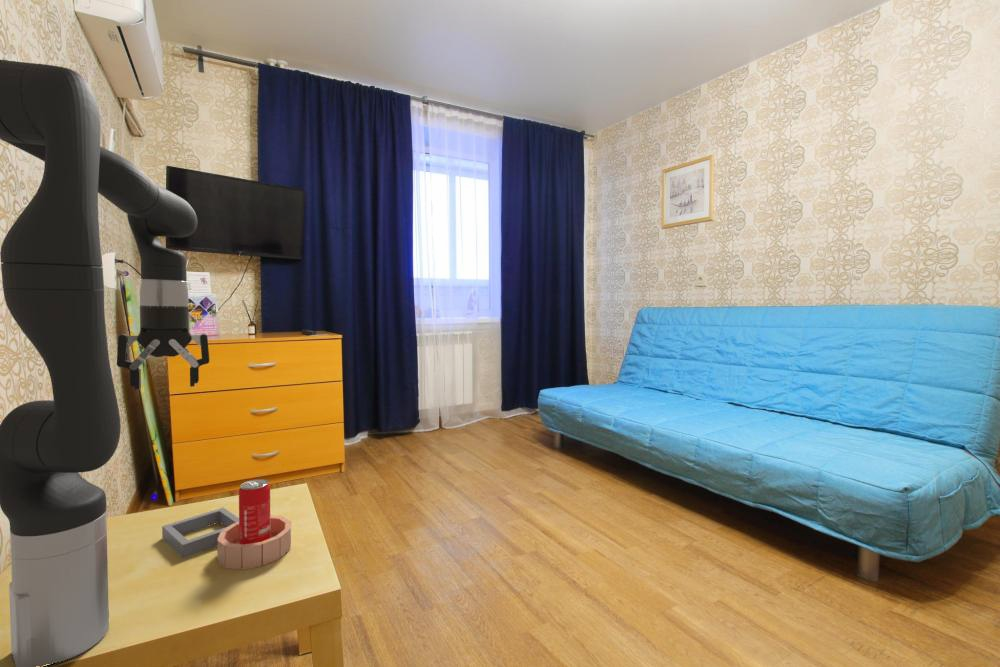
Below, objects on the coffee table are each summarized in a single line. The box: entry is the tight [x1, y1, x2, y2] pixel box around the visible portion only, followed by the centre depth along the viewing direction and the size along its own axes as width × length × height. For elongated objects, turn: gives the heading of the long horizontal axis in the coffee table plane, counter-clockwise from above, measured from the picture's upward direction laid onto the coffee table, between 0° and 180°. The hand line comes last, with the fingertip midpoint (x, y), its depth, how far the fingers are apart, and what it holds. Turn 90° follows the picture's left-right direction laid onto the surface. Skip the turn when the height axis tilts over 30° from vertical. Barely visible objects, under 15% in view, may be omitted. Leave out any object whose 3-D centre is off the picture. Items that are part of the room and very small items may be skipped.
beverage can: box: [238, 478, 271, 544], centre depth 84 cm, size 5×5×12 cm
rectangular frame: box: [161, 507, 239, 559], centre depth 89 cm, size 11×11×2 cm
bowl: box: [216, 514, 292, 570], centre depth 85 cm, size 12×12×4 cm
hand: (166, 387), depth 87 cm, fingers open, 8 cm apart
